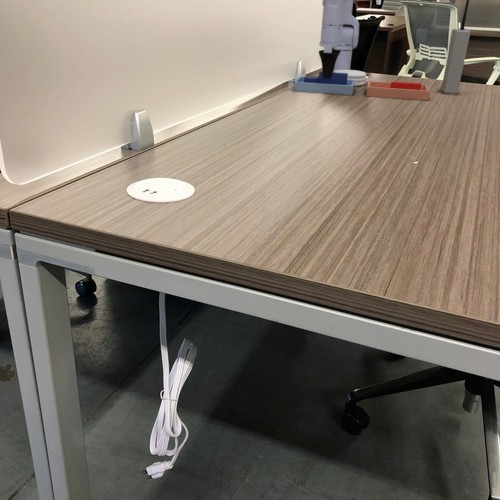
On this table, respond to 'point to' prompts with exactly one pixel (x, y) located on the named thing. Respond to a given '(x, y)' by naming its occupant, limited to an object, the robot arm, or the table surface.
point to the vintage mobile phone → (456, 58)
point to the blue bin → (324, 87)
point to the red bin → (396, 91)
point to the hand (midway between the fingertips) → (327, 77)
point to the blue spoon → (328, 79)
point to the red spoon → (403, 85)
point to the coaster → (354, 76)
